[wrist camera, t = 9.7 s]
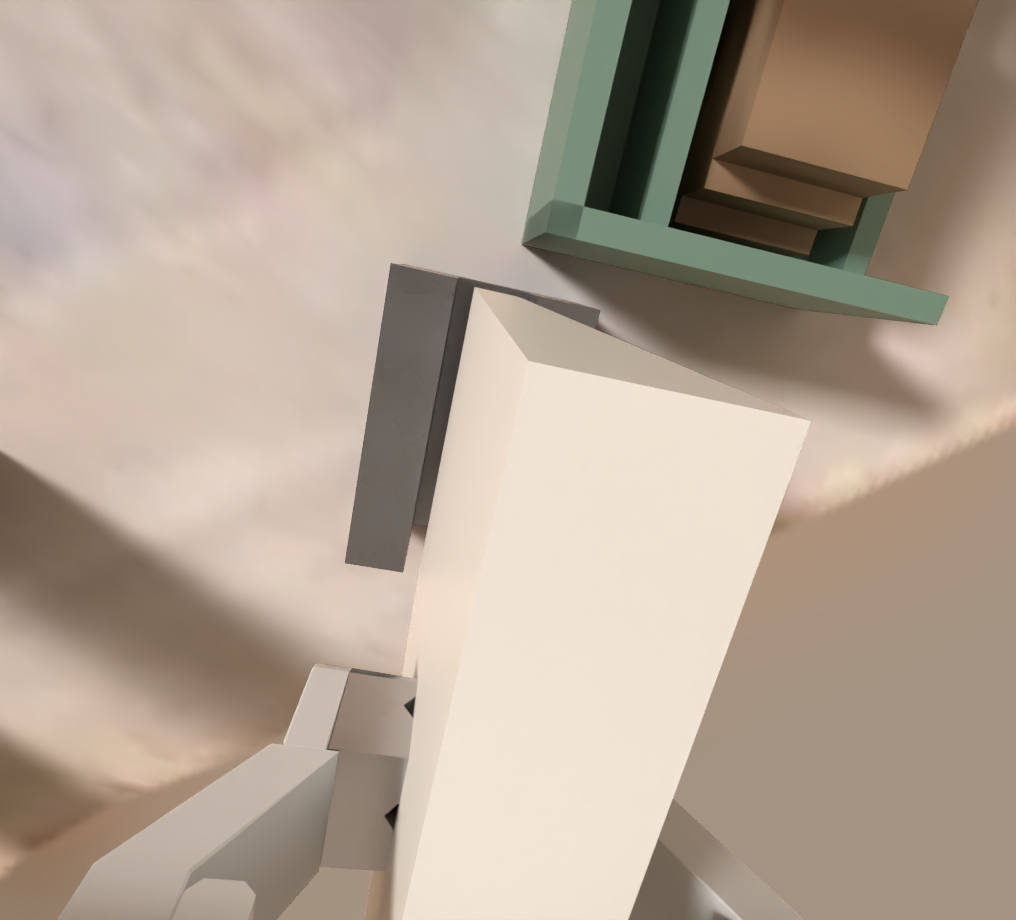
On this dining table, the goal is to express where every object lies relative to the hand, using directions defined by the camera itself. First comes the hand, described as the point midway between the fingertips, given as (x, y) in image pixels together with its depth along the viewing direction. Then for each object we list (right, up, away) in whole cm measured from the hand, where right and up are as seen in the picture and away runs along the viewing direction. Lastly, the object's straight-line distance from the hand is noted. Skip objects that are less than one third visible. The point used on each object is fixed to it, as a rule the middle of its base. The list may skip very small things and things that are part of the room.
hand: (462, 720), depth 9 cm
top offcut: (+12, +19, +12) cm, 25 cm away
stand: (-1, +7, +21) cm, 22 cm away
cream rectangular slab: (-1, +4, +14) cm, 15 cm away
